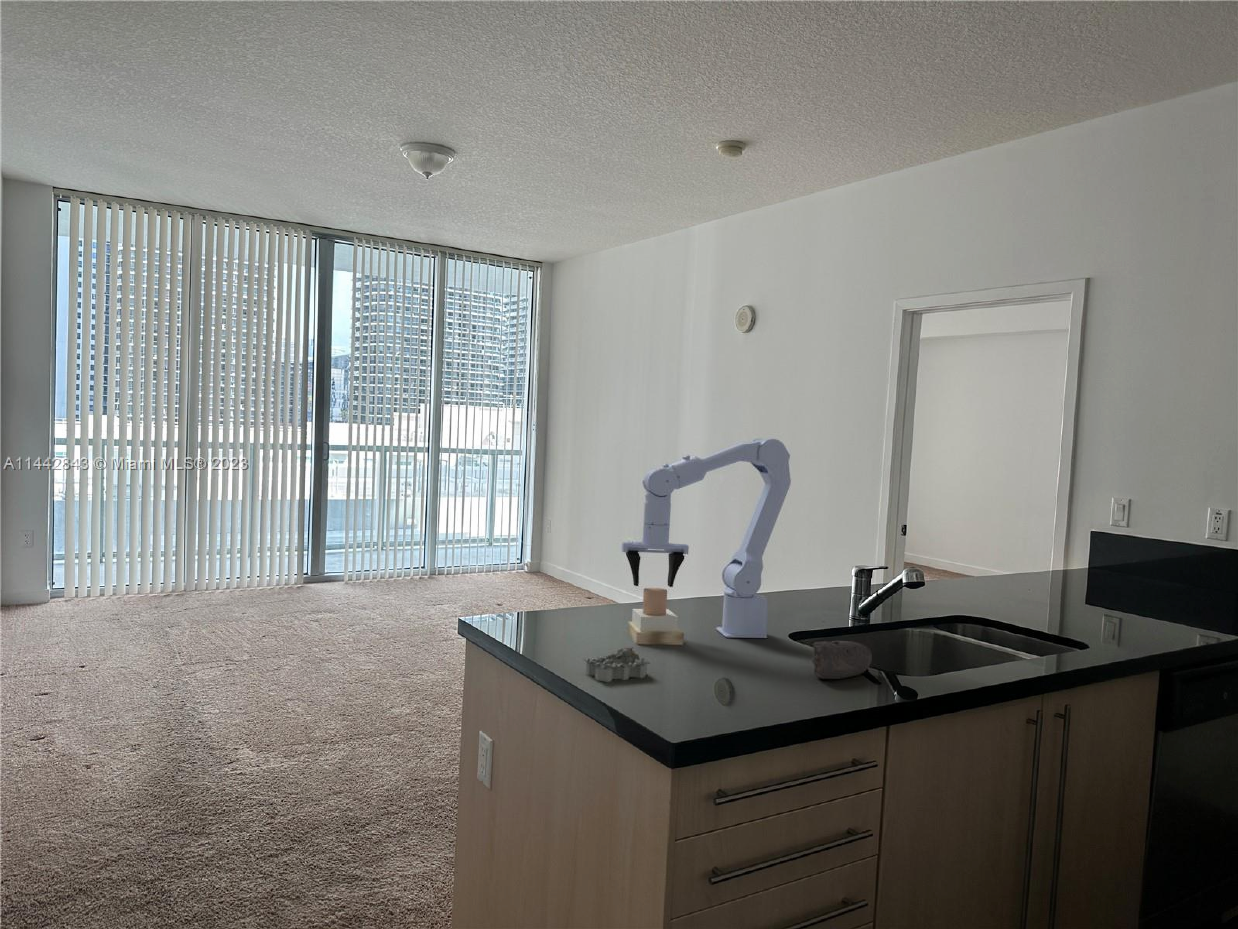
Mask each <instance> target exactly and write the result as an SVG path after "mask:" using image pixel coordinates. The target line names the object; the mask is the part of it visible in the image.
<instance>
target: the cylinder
mask: <svg viewBox="0 0 1238 929" xmlns="http://www.w3.org/2000/svg"><path fill="white" fill-rule="evenodd" d="M667 601H668V590H667V589H665V588H660V587H645V588H643V598H642V609H643V614H646V615H652V616H663V615H666V609H667Z"/></svg>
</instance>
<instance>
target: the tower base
mask: <svg viewBox="0 0 1238 929" xmlns="http://www.w3.org/2000/svg"><path fill="white" fill-rule="evenodd" d="M627 633H628V635H629V636H630V637H631V639H632V641H633V642H634V643H635V644H636V645H675V646H677V645H680V646H681V645H683V646H684V641H685V640H684V639H685V638H684V636H685V633H684V631H682V630H681V629H680V628H679V627H678V631H677V632H672V631H640V630H639V629H638V628H637V627H636V626H635V625H634V624H633V623H632V620H631V621H628V622H627Z"/></svg>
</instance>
